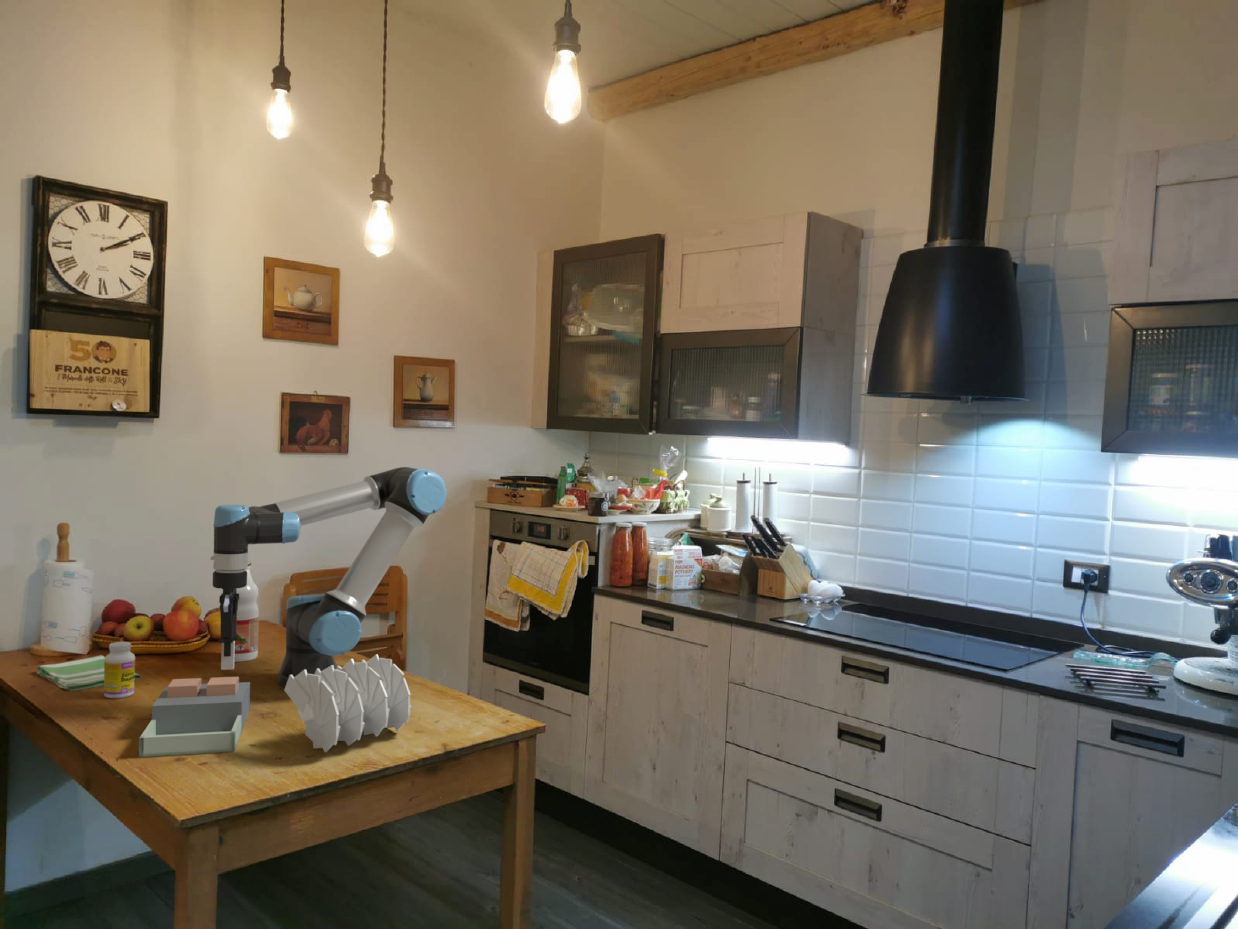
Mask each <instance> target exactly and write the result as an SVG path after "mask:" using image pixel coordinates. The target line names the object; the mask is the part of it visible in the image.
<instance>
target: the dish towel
mask: <svg viewBox="0 0 1238 929" xmlns="http://www.w3.org/2000/svg"><path fill="white" fill-rule="evenodd" d="M105 657H106V656H104V655H102V654H100V655H96V656H95V655H94V656H89V657H85V658H81V659H75V660H69V661H64V662H59V663H51V664H43V665H38V666H37V667H36V669H37V671H36V672H35V673H36V674H37V675H39V676H40V677H43V678H44V679H46V680H48V681H50V682H51V683H53V684H55V685H57V687H59V688H60V689H64V690H65V691H70V692H73V691H80V690H84V689H85V690H86V689H90V688H91V689H92V688H96V687H100V686H101V687H102V686H104V661H105ZM137 678H138V679H137ZM140 679H142V675H140V674H139V673H136V672H135V680H140Z"/></svg>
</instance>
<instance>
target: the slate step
mask: <svg viewBox="0 0 1238 929" xmlns="http://www.w3.org/2000/svg"><path fill="white" fill-rule="evenodd" d="M207 684H208V683H202V684H201V690H200V692H199V694H198V696H197V697H178V698H167V695H168V686H169V685H166V686H165V688H164V689H163V690H162V691H161V693H160V694H159V696H158V697H157V699H156V700H155V701H154V703H153V704H152V705H151V720H156V735H166V734H184V733H202V732H220V731H231V730H232V728H233V725H234V723H235V721H236V718H237V716H238V715H242V718H241V733H242V732H243V729H244V727H245V725H246V721H247V719H248V716H249V713H250V706H251V703H250V702H251V699H250V698H251V682H250V681H247V682H246V681H245V682H240V681H239V688H238V690H237V692H236V695H222V696H207Z"/></svg>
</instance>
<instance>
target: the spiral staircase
mask: <svg viewBox="0 0 1238 929" xmlns="http://www.w3.org/2000/svg"><path fill="white" fill-rule="evenodd" d="M404 676H405V673H404V672H403V671H402V670H401V668H399V667H398V666H397V665H396V664H395V663H393V659H391V658H382V657H379V655H378V653H377V654H375V655H373V656H372V657H371V658H369V659H368V660H367V661H366V660H365V659H362V660H361V662H360V661H359V662H355V660H354V658H350V659H349V660H348V661H347V662H346V663H345V664H344V666H342V667H341V666H340V665H337V669H334V665H331V666H329V667H328V668H326V669H324V670H323V671H320V669H319V668H318V669H317V670H316V672H315V674H314V675H313V674H307V670H306V669H305V670H303V671H302V672H301V673H299V674H298V675H297V676H296V677H293V675H290V676H289V678H288V681H287V684H286V686H284V689H283V690H284V693H286V695H287V696H288V697H289V698H290V700H291V701H292V702H293V703H294V705H295V706H296V707H297V713H298V716H299V719H300V721H302V722H304V724H305V730H304V731H305V732H304V735H305V736H306V737H307V738H309V740H310V741H312V746H313V747H312V748H313V749H323V751H324V753H328V751H330V749H331V748H332V747H333V746H337V744H338V742H345V743H346V745H347V747H350V746H351V745H352V744H354V743H355V742H356V741H361V737H362V735H364V736H367V735H370V734H374V736H375V737H379V735H380V734H381V732H383V730H384V729H390V728H394V729H395V731H396V732H399V731H400V730H401V728H403V726H404V725H405V724H409V721H410V717H411V716H410V715H411V713H412V709H413V708H412V707H413V706H412V705H411V695H412V694H411V691H410V688H409V686H408V682H407V680H406V677H404Z"/></svg>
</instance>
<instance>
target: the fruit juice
mask: <svg viewBox="0 0 1238 929" xmlns="http://www.w3.org/2000/svg"><path fill="white" fill-rule="evenodd" d="M251 568H252V562H251V561H250V560H248V568H246V569H245V570H246V572H247V585H246V586H245V587H242V588H236V589H237V593H236V594H239V600H238V610H237V622H236V635H235V637H238V640H234V641H235V654H234V663H240V662H241V663H242V662H248V661H249V662H250V661H253V660H255V659H257V658H258V656H259V619H260V618H259V617H260V616H259V615H260V613H259V610H260V609H259V606H258V601H257V600H258V597H259V587H258V586H257V584H256V583H255V582H254V580H253V577H252V573H251Z"/></svg>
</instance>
